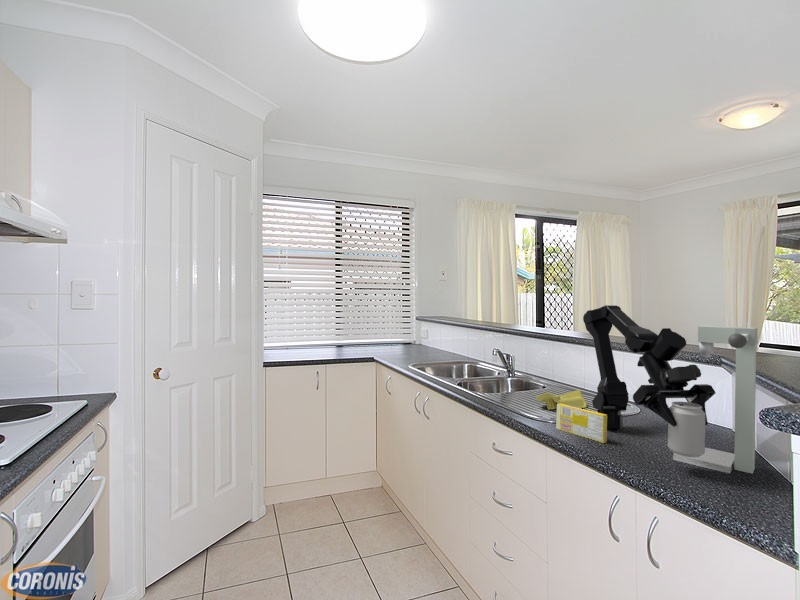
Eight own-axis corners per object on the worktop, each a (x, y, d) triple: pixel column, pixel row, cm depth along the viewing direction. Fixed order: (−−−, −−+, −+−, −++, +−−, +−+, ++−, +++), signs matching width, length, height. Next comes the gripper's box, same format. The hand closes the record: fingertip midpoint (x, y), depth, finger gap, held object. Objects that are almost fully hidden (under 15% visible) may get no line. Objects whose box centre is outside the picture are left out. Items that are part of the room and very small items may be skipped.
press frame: (682, 479, 98) (684, 329, 97) (700, 455, 113) (701, 325, 112) (745, 495, 90) (747, 332, 89) (755, 467, 104) (757, 328, 104)
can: (697, 448, 105) (698, 401, 105) (710, 460, 98) (711, 409, 98) (663, 445, 107) (664, 399, 107) (673, 456, 100) (674, 406, 100)
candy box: (607, 442, 122) (608, 414, 122) (603, 444, 121) (603, 415, 121) (559, 427, 136) (559, 402, 136) (555, 429, 135) (555, 403, 135)
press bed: (673, 459, 109) (673, 454, 109) (683, 448, 118) (683, 442, 118) (730, 473, 101) (730, 467, 101) (736, 459, 110) (736, 454, 110)
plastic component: (560, 395, 171) (582, 388, 164) (567, 413, 168) (588, 407, 161) (530, 398, 160) (551, 391, 153) (536, 417, 157) (558, 411, 150)
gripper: (640, 353, 105) (671, 409, 94) (710, 353, 107) (748, 408, 96) (621, 378, 113) (647, 432, 102) (686, 377, 115) (719, 430, 104)
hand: (690, 425), depth 101 cm, fingers closed on can, 7 cm apart
